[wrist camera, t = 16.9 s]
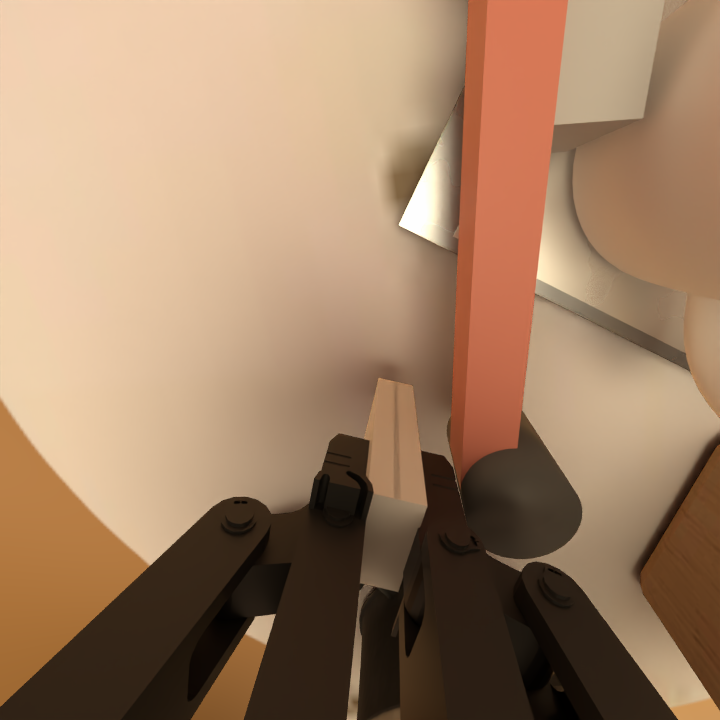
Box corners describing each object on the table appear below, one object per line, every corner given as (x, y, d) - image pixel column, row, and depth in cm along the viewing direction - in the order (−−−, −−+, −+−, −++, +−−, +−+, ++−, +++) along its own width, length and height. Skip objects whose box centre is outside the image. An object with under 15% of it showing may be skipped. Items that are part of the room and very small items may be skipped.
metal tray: (745, 398, 16) (925, 489, 11) (344, 197, 15) (311, 182, 10) (987, 151, 13) (1455, 93, 7) (481, -139, 11) (558, -484, 6)
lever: (528, 449, 15) (592, 562, 10) (430, 448, 16) (445, 555, 11) (616, -250, 9) (915, -904, 4) (445, -221, 9) (501, -768, 4)
